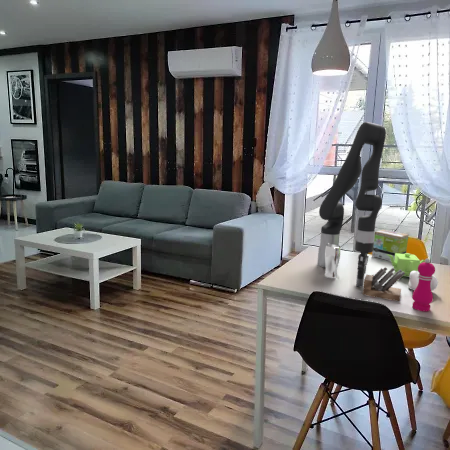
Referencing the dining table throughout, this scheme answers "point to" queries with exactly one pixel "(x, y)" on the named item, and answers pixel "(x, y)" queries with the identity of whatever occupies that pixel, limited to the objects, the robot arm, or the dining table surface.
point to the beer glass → (331, 260)
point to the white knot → (415, 280)
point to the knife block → (386, 291)
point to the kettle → (405, 263)
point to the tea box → (389, 244)
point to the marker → (360, 281)
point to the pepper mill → (423, 287)
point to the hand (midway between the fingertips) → (361, 276)
